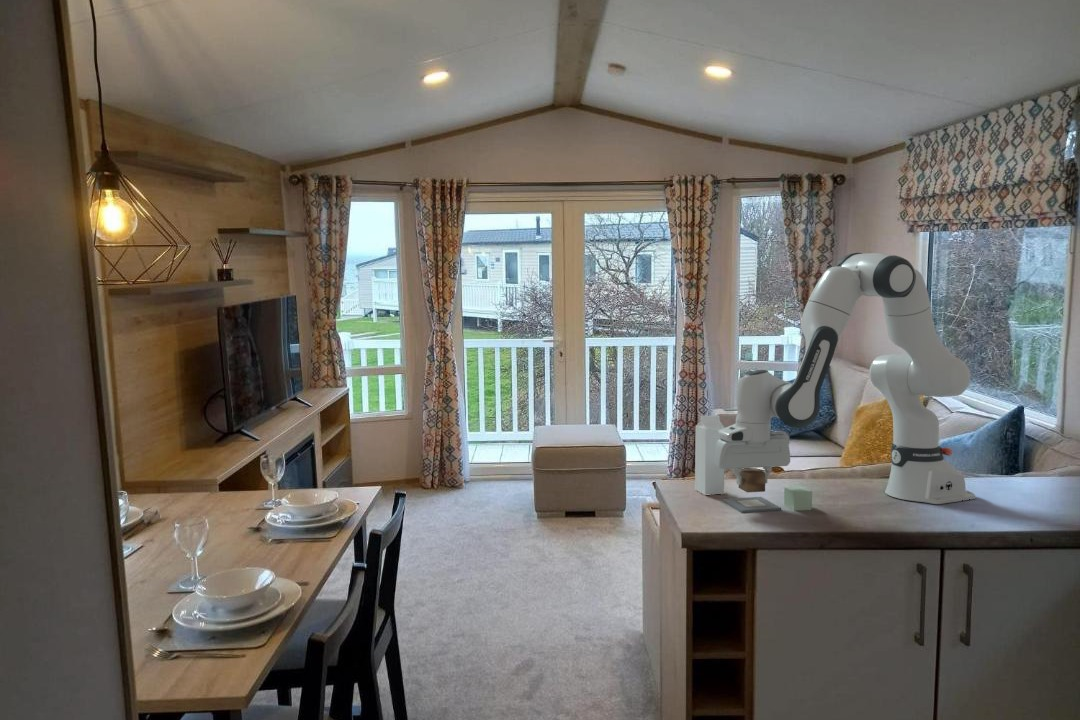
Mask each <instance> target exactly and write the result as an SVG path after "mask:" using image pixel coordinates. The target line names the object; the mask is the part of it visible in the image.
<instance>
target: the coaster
mask: <svg viewBox="0 0 1080 720" xmlns="http://www.w3.org/2000/svg"><path fill="white" fill-rule="evenodd" d="M722 501H723V502H724V503H726V504H727V505H729V506H731V507H732V508H734V509H735V510H737V511H738V512H739V513H742V514H743V513H759V512H774V511H775V512H776V511H782V507H781V506H779V505H777V504H775V503H773V502H771V501H769V500H768V499H766V498H764V497H763V496H754V497H753V496H750V497H748V496H747V497H736V498H735V497H733V498H723V499H722Z"/></svg>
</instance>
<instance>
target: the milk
mask: <svg viewBox="0 0 1080 720" xmlns="http://www.w3.org/2000/svg"><path fill="white" fill-rule="evenodd" d="M720 417H721V416H720V415H719V414H718V415H717V414H716V415H713V414H712V415H701V416H700V420H699V421H700V422H697V424H696V425H695V434H694V435H695V441H694V442H695V445H694V446H695V448H694V450H695V455H694V457H695V458H694V459H695V461H694V463H695V464H694V465H695V467H694V471H695V472H694V491H695V490H698V491H700V492H702V493H703V494H721V495H725V469H720V468H718V467H717V466H716V465H715V464H714V452H715V445H716V442H717V441H718V440H719V439H721V438H719V437H718V430H720V429H723V428H725V426H724V425H723V423H722V422H721V419H720Z"/></svg>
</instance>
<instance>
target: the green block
mask: <svg viewBox="0 0 1080 720" xmlns="http://www.w3.org/2000/svg"><path fill="white" fill-rule="evenodd" d="M783 495H784V497H783V498H784V499H783V500H784V503H783V504H784V505H785V507H786V508H788V509H789V510H792V511H793V510H794V511H793V512H797V511H798V510H799V511H812V510H813V491H812V490H811V489H809V488H807V487H804V486H803V485H799V486H797V485H796V486H785V487H784V494H783ZM784 505H783V506H784ZM811 509H812V510H811Z"/></svg>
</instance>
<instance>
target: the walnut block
mask: <svg viewBox="0 0 1080 720" xmlns="http://www.w3.org/2000/svg"><path fill="white" fill-rule="evenodd" d="M739 474H740V476H741V477H743V478H745V481H744V482H745V484H744V485H738V488H739V489H740V490H742V491H744V492H745V493H759V492H760V493H762V492H766V484H765V472H764V471H763V470H761V469H758V468H741V472H739Z"/></svg>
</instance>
